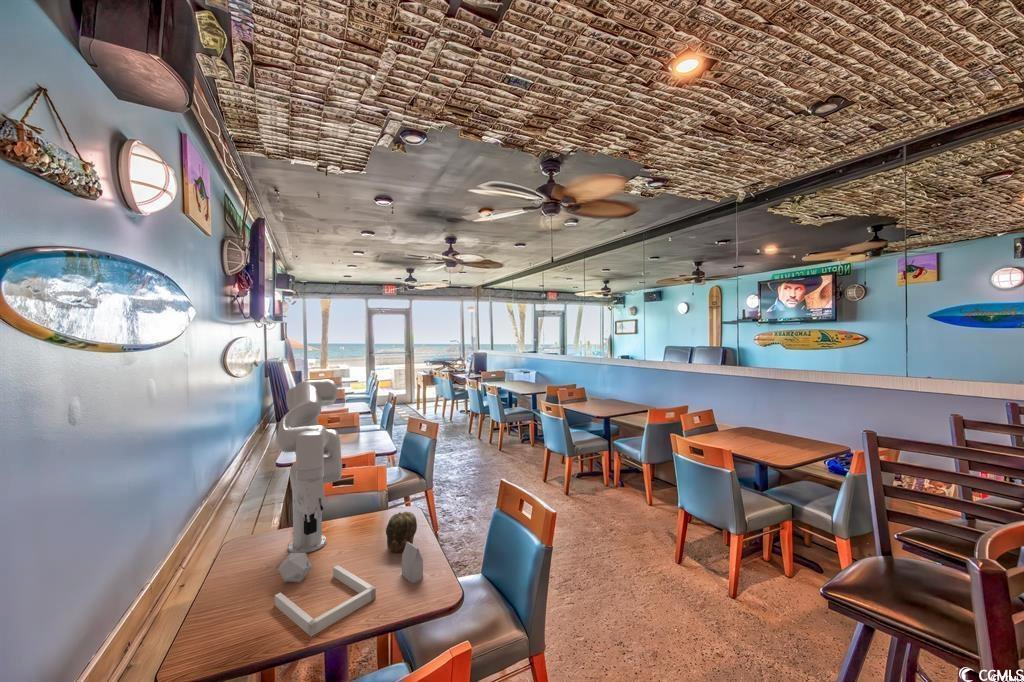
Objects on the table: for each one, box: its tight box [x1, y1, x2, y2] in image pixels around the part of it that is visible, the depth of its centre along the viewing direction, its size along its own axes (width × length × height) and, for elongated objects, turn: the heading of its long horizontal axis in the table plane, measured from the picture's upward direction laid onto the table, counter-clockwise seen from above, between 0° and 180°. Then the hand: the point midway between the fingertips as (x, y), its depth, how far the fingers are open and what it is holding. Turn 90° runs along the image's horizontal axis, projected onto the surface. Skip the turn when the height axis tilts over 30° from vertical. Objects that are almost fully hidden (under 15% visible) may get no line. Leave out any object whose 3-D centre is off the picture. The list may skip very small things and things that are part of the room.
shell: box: [385, 511, 418, 554], centre depth 147 cm, size 11×11×12 cm
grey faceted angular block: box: [401, 541, 424, 584], centre depth 129 cm, size 4×7×10 cm, turn 44°
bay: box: [274, 564, 377, 637], centre depth 116 cm, size 20×19×3 cm
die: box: [277, 552, 313, 583], centre depth 127 cm, size 8×9×10 cm
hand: (310, 532), depth 122 cm, fingers closed
